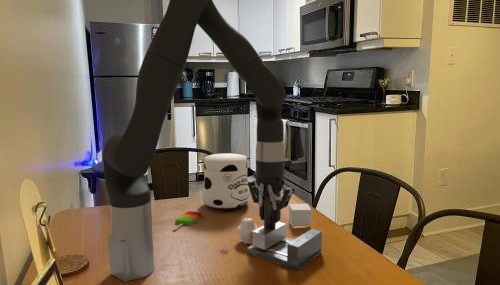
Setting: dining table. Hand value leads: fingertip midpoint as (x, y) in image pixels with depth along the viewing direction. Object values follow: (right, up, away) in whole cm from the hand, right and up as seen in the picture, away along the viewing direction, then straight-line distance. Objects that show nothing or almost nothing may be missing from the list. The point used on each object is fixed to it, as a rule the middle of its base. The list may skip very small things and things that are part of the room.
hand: (269, 220), depth 102 cm
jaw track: (+4, -8, -2) cm, 9 cm away
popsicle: (-26, -6, +21) cm, 34 cm away
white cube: (+10, -5, +18) cm, 22 cm away
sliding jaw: (0, -6, +1) cm, 6 cm away
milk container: (-14, -2, +37) cm, 40 cm away
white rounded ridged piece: (-6, -7, +6) cm, 11 cm away
